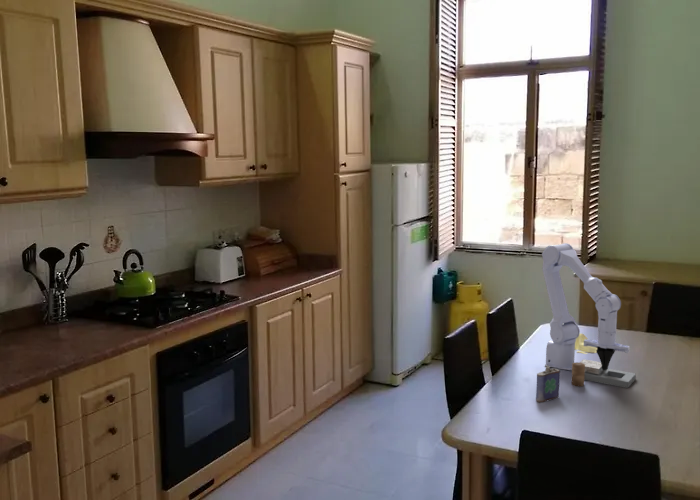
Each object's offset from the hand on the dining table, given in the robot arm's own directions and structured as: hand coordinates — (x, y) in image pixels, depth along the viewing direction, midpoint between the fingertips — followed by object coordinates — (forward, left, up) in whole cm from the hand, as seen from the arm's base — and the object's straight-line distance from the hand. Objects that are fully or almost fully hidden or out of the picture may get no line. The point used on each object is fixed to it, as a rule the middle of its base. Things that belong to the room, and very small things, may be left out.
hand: (605, 369), depth 228 cm
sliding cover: (-5, 0, -1) cm, 5 cm away
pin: (-6, -11, -3) cm, 13 cm away
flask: (-10, -29, -3) cm, 31 cm away
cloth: (-17, +31, -4) cm, 35 cm away
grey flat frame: (0, 0, -3) cm, 3 cm away
